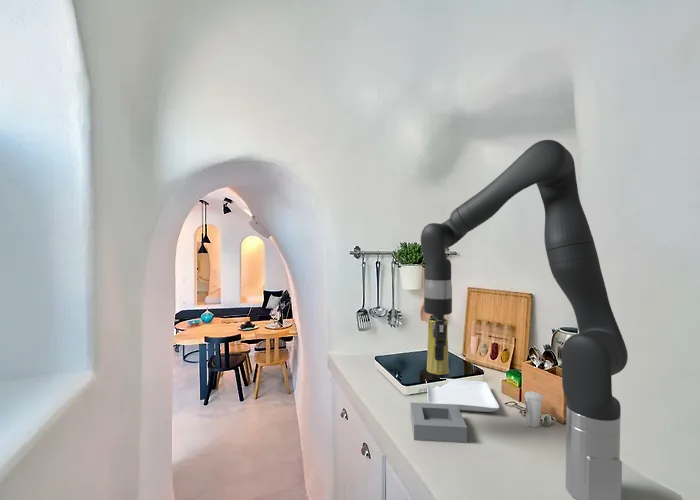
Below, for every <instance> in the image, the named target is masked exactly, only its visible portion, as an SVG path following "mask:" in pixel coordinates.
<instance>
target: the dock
mask: <svg viewBox="0 0 700 500" xmlns="http://www.w3.org/2000/svg"><path fill="white" fill-rule="evenodd" d="M410 421H411V430H412V435H413V440H414V441H429V442H430V441H431V442H446V443H447V442H448V443H466V444H467V443H468V426H467V424H466V421H465V420H464V417H463V415H462V413H461V410H459V408H458V406H457V405H455V404H433V403H428V402H427V403H426V402H410Z"/></svg>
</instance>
